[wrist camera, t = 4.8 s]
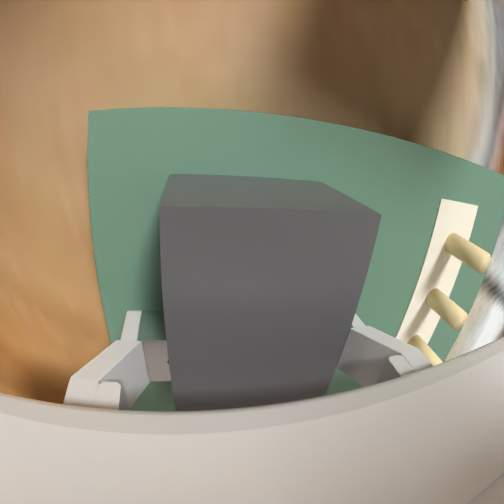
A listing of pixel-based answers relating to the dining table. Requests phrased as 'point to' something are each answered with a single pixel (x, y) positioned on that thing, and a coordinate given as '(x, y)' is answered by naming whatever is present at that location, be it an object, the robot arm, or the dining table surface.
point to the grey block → (258, 286)
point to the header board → (299, 168)
